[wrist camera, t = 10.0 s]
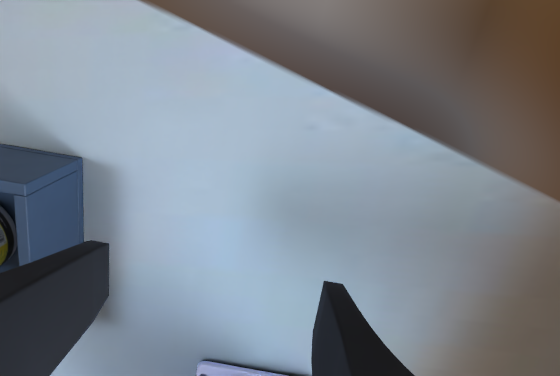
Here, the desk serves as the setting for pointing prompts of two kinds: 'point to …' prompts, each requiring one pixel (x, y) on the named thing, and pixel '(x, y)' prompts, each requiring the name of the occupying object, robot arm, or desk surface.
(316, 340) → the robot arm
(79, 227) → the desk bin
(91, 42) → the desk surface
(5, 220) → the supplement bottle
